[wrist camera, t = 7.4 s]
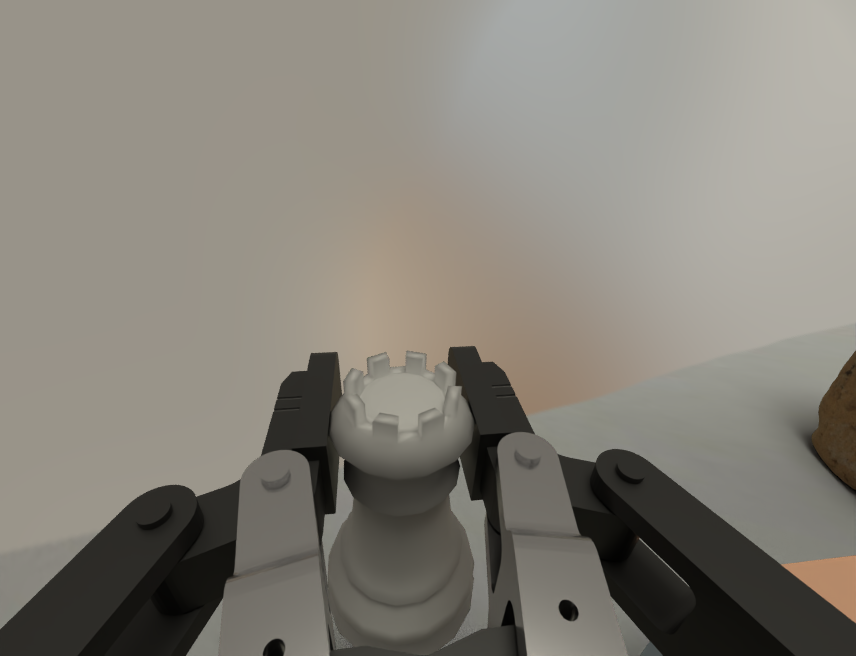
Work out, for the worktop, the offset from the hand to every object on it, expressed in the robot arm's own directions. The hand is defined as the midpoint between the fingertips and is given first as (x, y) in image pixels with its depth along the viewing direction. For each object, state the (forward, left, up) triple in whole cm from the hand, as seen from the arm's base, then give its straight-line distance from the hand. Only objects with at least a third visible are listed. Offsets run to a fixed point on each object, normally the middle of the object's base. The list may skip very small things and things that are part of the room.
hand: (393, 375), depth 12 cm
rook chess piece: (0, +3, -6) cm, 7 cm away
